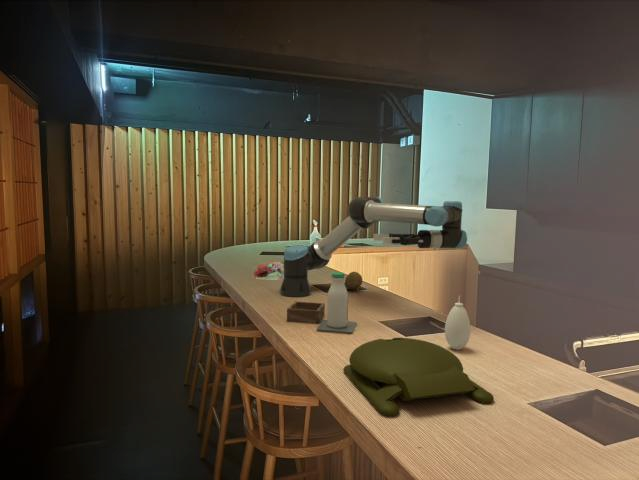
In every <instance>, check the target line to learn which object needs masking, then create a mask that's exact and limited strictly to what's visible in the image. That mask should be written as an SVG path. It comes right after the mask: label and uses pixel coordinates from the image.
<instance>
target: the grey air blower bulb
mask: <svg viewBox="0 0 639 480" xmlns="http://www.w3.org/2000/svg"><path fill="white" fill-rule="evenodd" d="M444 335H445V336H444V337H445V340H446V342H447V344H448V345H449V346H450V347H451V348H452V349H453V350H455V349H456V351H458V350H462V349H463V348H465V347H466V346H467V344H468V343H469V340H470V337H471V322H470V317H469V315H468V312H467V310H466V308H465V307H464V304H463V303H462V302H461V296H460V295H458V301H457V302H455V303H454V306H453V307H452V308H451V309H450V311H449V313H448V314H447V318H446V320H445V325H444Z"/></svg>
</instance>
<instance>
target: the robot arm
mask: <svg viewBox="0 0 639 480" xmlns="http://www.w3.org/2000/svg"><path fill="white" fill-rule="evenodd" d="M442 204H443V205H442V206H441V205H440V206H438V205H437V206H436V205H421V204H404V203H390V202H389V203H388V202H387V203H386V202H385V201H384V200H383V199H382V198H381V197H378V196H358V197H355V198H353V199H352V200H351V201H350V202H349V203H348V206H347V215H348V216H347V217H346V218H345V219H344V220H342V221H341V222H340V223H339V224H338V225H337V226H336V227H334V228H333V229H332V230H331V231H330V232H329V233H328V234H327V235H325V236H324V237H323V238H322V239H321V240H320V239H318V240H315V241H313V243H311V244H310V245H309V246H307V245H302V244H296V245H291V246H287V247H286V248H285V249H284V250H283V251H284V255H283V261H284V279H283V280H282V282H281V286H280V289H279V293H280V295H281V296H283V297H284V296H285V297H289V298H300V297H301V298H302V297H308V296H310V295H311V294H312V293H311V292H312V288H311V286H310V282H309V279H308V274H309V273H308V271H312V270H319V269H322V268H324V267H326V266H328V264H329V262H330V260H331V259H332V256H333V255H332V254H333V253H334V252H335V251H337V250H339V249H340V247H342V246H343V245H344V244H345V243H347V242H348V241H349V240H350V239H351V238H352V237H354V236H355V235H356V234H357V233H359V232H360V231H362V230H367V229H369V228H370V227H371V226H372V225H373V224H375V223H379V222H390V223H391V222H392V223H403V224H414V225H415V224H417V225H427V226H432V227H441V228H442V229H429V230H428V229H419V230H418V232H417V234H415V233H404V234H403V233H392V232H391V233H373V241H374V242H375V241H381V242H382V245H387V246H388V245H389V246H390V245H398V246H399V245H401V246H402V245H403V246H413V245H417V247H418V248H419V249H433V250H434V251H435V250H437V249H454V250H455V249H462V248H465V246H467V242H468V237H467V236H468V235H467V232H466V231H465V230H463V229H462V217H463V203H462V201H457V200H455V201H454V200H453V201H452V200H445V201H444V202H443V203H442Z"/></svg>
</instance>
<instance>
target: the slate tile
mask: <svg viewBox="0 0 639 480" xmlns="http://www.w3.org/2000/svg"><path fill="white" fill-rule="evenodd" d="M356 326H357V321H350V320H349V321H348V324H347V326H346V327H343V328H333V327H329V326H328V325H327V319H322V320H321V321H320V323H319V324H318V326H317V328H316V332H320V333H333V334H343V335H345V334H347V335H353V333H354V330H355V328H356Z"/></svg>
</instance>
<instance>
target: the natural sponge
mask: <svg viewBox="0 0 639 480" xmlns="http://www.w3.org/2000/svg"><path fill="white" fill-rule="evenodd" d="M344 284H345V287H347V288H348V289H349V290H351V291H353V292H355V291H356V290H358V289H359V288H360V287H361V286H362V284H363V277H362V275H361V274H360V273H359V272H357V271H351V272H349V273H348V274H347V275H346V277H345V278H344Z"/></svg>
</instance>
